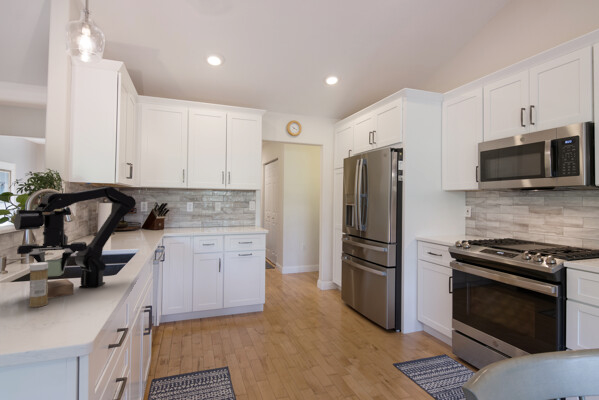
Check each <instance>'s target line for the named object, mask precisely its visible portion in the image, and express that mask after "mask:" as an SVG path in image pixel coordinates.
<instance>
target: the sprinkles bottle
mask: <svg viewBox="0 0 599 400" xmlns="http://www.w3.org/2000/svg"><path fill="white" fill-rule="evenodd" d="M47 270H48V263H47V262H38V263H37V262H33V263H30V264H29V273H30V274H29V279H30V280H29V307H30V308H39V307H44V306H46V305H48V303H49V301H48V299H47V294H48V282H49V281H48V277H49V276H48V272H47Z"/></svg>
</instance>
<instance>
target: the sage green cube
mask: <svg viewBox="0 0 599 400" xmlns="http://www.w3.org/2000/svg"><path fill="white" fill-rule="evenodd" d="M44 262H47V263H48V270H47V272H48V277H58V276H61V275H63V274H65V270H64V271H62V269H61V265H62V258H58V259H55V258H54V259H45V261H44Z"/></svg>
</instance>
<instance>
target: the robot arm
mask: <svg viewBox="0 0 599 400" xmlns="http://www.w3.org/2000/svg"><path fill="white" fill-rule="evenodd" d="M100 198H106V199H107V200H108V201H109V202H110V203H112V205H111V211H110V214H109V215H108V216H107V218H106V219H105V221H104V222H103V224H102V226H101V227H100V229H99V230H98V232H97V233H96V234H95V236H94V237H93V239H91V242H90V243H88V244H87V242H86V241H73V242H71V243H70V244H69V243H68V241H69V240H68V239H69V236H67V235H66V233H65V216H71V215H72V213H71V212H70V211H69V210H68V209H67V208H68V207H69V206H72V205H74V204H76V203H81V202H85V201H90V200H94V199H100ZM136 205H137V201H136V199H135V198H134V197H133V196H131V195H128V194H125V193H124V192H121V191H120V190H118V189H116V188H115V187H113V186H102V187H98V188H92V189H87V190H82V191H81V190H80V191H75V192H49V193H46V194H44V195H43V196H42V198H41V202H40V203H38V204H37V206H36V207H35V208H34V209H17V210H16V214H15V217H14V219H13V225H14V229H15V230H16V231H27V230H30V231H31V230H39V229H40V228H41V227H43V231H42V236H43V238H42V239H43V243H42V245H38V243H24V244H20V245H19V246H18V247H17V249H16V250H17V252H16V254H17V255H28V254H29V257H33V259H34V260H35V262H36V263H38V262H44V261H46V259H45V257H46V251H61V250H62V251H63V252H62V254H61V255H62V256H61V259H62V265H61V269H62V271H64V272H65V269H66V267H67V263H68V261H69V259H70V257H71V256H72V255H74V253H75V257H74V261H75V263H76V265H78V266H79V268H80V270H81V274H80V285H79V286H78V287H79V289H80V288H85V289H86V288H91V289H92V288H98V287H100V286H102V285H104V284H106V281H104V271H105V269H106V267H107V264H106V263H104V261H102V260H101V258H102V256H103V251H104V250H103V249H104V246H105V245H107V242H108V241H109V239H110V237H111V236H112V235H113V233H114V232H115V230H116V229H117V227H118V226H119V224H120V222H121V221H122V219H123V218H124V217H125V216H127V215H128V214H130V212H131V211H132V210H134V208H135V207H136Z"/></svg>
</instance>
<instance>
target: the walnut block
mask: <svg viewBox="0 0 599 400" xmlns="http://www.w3.org/2000/svg"><path fill="white" fill-rule="evenodd" d="M74 286H75V285H74V283H73V282H72V281H70V280H69V279H68V278H64V279H57V280H50V281H48V294H47V300H48V299H53V298H59V297H64V296H69V295H70V296H71V295H74Z"/></svg>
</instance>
